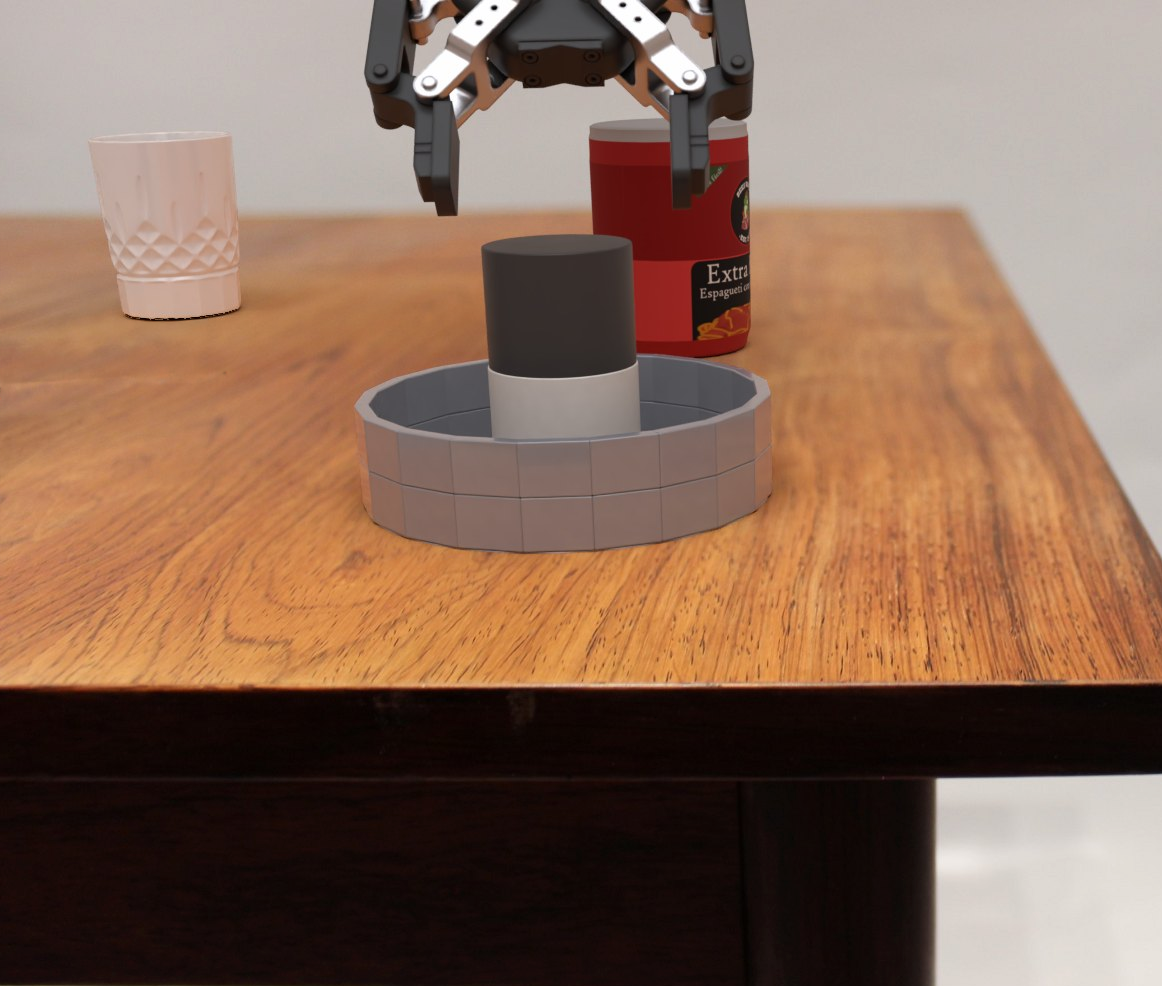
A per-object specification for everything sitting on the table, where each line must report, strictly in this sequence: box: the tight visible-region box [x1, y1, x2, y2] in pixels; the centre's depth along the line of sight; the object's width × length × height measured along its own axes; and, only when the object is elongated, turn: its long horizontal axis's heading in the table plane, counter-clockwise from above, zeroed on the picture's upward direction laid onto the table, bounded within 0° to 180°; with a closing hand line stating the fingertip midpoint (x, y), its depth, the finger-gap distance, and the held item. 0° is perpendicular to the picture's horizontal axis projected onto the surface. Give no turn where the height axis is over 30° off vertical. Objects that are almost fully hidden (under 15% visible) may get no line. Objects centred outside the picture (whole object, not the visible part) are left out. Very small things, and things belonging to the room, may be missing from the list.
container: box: [480, 233, 641, 439], centre depth 57 cm, size 5×5×8 cm
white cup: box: [87, 130, 242, 318], centre depth 98 cm, size 8×8×10 cm
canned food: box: [588, 117, 752, 358], centre depth 84 cm, size 8×8×11 cm
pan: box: [353, 353, 773, 555], centre depth 58 cm, size 14×14×4 cm
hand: (562, 199), depth 60 cm, fingers open, 8 cm apart
